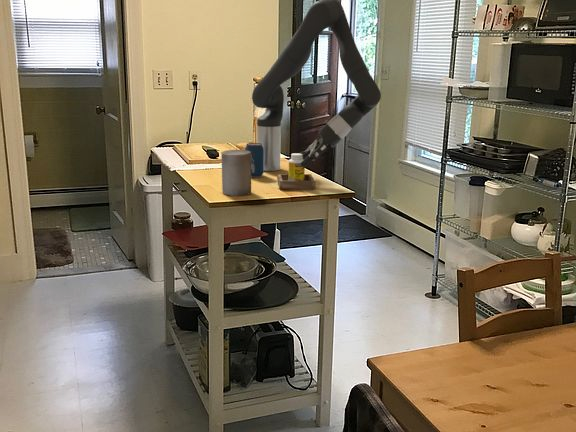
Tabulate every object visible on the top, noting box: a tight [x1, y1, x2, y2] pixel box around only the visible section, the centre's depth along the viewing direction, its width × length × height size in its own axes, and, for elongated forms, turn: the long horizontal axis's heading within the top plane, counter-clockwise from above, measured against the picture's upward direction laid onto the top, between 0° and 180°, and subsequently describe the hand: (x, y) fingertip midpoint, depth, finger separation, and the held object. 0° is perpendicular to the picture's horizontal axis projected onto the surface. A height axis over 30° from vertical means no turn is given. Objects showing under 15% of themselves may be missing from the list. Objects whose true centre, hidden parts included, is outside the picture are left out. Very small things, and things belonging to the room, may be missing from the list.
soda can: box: [244, 142, 265, 178], centre depth 235 cm, size 7×7×12 cm
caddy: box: [277, 173, 316, 191], centre depth 220 cm, size 12×12×3 cm
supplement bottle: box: [288, 152, 306, 181], centre depth 219 cm, size 6×6×10 cm
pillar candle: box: [220, 147, 252, 197], centre depth 207 cm, size 10×10×15 cm
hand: (301, 163), depth 218 cm, fingers open, 8 cm apart
